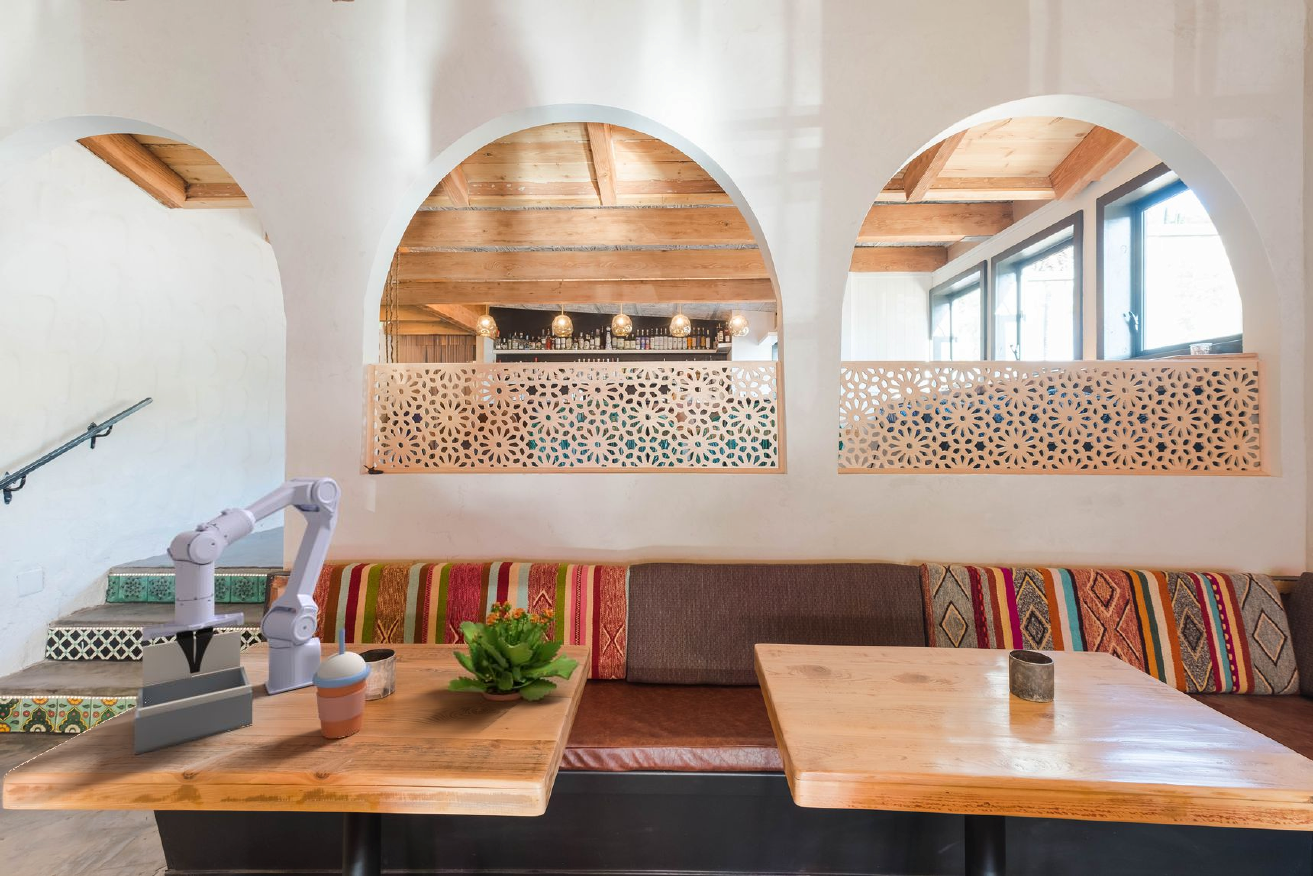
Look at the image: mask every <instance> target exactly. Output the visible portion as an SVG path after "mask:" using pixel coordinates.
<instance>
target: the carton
mask: <svg viewBox="0 0 1313 876" xmlns="http://www.w3.org/2000/svg"><path fill="white" fill-rule="evenodd" d="M246 685H250V682H249V679H248V675H247V672H246V669H245V667H244V666H240V667H235V668H230V669H225V670H220V671H215V672H210V673H205V674H200V675H195V676H190V677H185V678H180V679H175V680H170V681H165V682H160V683H155V684H150V685H145V686H141V687H138V688H137V689H138V691H137V698H136V706H135V707H136V708H135V713H134V756H136V755H140V754H144V753H148V752H153V751H157V750H160V749H164V748H168V747H172V746H176V745H180V744H183V743H187V742H191V741H195V740H194V739H196V740H199V739H204V738H207V737H206V736H208V737H211V736H210V735H212V736H215V735H214V734H216V735H219V734H223V733H227V732H229V731H228V730H231V731H234V729H235V730H238V729H237V728H239V727H242V726H247V725H250V724H252V725H253V689H251V690H250V691H249V693H248V694H244V695H239V696H235V697H230V698H226V699H222V700H217V701H213V702H208V703H204V704H199V705H195V706H190V707H186V708H182V709H177V710H173V711H168V712H164V713H159V714H155V715H150V716H146V717H142V718H140V717H139V713H138V709H140V708H144V707H149V706H154V705H158V704H163V703H167V702H172V701H177V700H181V699H186V698H190V697H195V696H200V695H204V694H209V693H213V692H218V691H223V690H227V689H232V688H236V687H241V686H246ZM145 702H146V703H145ZM247 727H248V726H247ZM239 729H240V728H239ZM226 731H227V732H226ZM218 733H219V734H218Z"/></svg>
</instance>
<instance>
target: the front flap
mask: <svg viewBox="0 0 1313 876" xmlns="http://www.w3.org/2000/svg"><path fill="white" fill-rule="evenodd" d="M249 684H250V683H249ZM253 686H254V685H253V683H252V684H250V685H246V686H241V687H236V688H232V689H227V690H223V691H218V692H213V693H209V694H204V695H200V696H195V697H190V698H186V699H181V700H177V701H172V702H167V703H163V704H158V705H154V706H149V707H144V708H140V709H138V713H139V717H140V718H142V717H146V716H150V715H155V714H159V713H164V712H168V711H173V710H177V709H182V708H186V707H190V706H195V705H199V704H204V703H208V702H213V701H217V700H222V699H226V698H230V697H235V696H239V695H244V694H248V693H249V691H250V690H252V687H253Z"/></svg>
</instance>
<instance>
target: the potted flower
mask: <svg viewBox="0 0 1313 876" xmlns="http://www.w3.org/2000/svg"><path fill="white" fill-rule="evenodd" d="M512 607H513V605H512V604H511V601H510V600H509V601H505V602H504V603H503V605H502V607H501V605H500V602H499V601H498V602H497V601H496V602H492V604H491V606H490V609H489V612H490V613H488V615H486V616H485V622H486V623H481V622H476V623H475V624H474V622H473V621H470V620H469V621H461V623H459V628H458V629H457V630H458V632H460V633H461V634H463V636H464V641H465V643H466V644H467V645H468V653H469V656H467V655H466V654H465V653H461V652H460V651H456V650H453V652H452V653H453V655H454V657H455V659H456V660H457V661H458V663H459V664H460V665H461V666H462V668H464V669H465V670H466V671H468V672H469V673H471V674H473V675H475V677H473V678H472V679H471V678H470V677H467V676H460V675H459V676H458V679H455V678H454V679H452V680H450V681H449V684H448V685H447V686H446V690H447V691H449V692H473V693H481V694H482V696H483V697H484V698H485V699H487V700H489V701H493V702H506V701H508V702H509V701H515V700H520V699H521V698H523V699H524V700H525V701H527V700H528V701H530V702H532V701H533V700H534V701H539V700H540V699H542V698H544V696H546V695H548V694H549V693H552V692H554V691H555V690H556V689H557V688H558V685H557V683H554V682H553V681H550V680H549V679H545V678H554V677H558V678H561V679H564V680H566V681H569V680H570V679H571V677H572V675H573V672H574V671H575V670H576V669H577V667H578V666H579V665H580V662H579V661H578V662H577V659H576V658H568V654H567V653H566V652H564V653H562V654H561V655H560V656H559V657H557V656H558V655H559V654H558V652H559V651H560V649H561V648H562V645H563V643H564V642H563V641H562V640H557V639H556V640H555V641H552V640H550V637H549V638H548V639H547V640H546V636H547V632H548V630H549V628H550V624H551V622H552V621H556V617H555V612H553V611H554V609H548V608H544V609H541V610H540V611H539V612H540V613H541V614H540V616H539V615H538V614H537V613H536V612H533V613H527V612H526V610H525V608H524V607H517V608H514V609H513V611H512V613H511V614H512V615H511V614H510V611H511V609H512ZM501 611H503V612H506V613H507V614H504V615H503V612H501ZM540 617H541V618H543V619H540ZM543 634H544V635H543ZM545 640H546V641H545ZM556 657H557V658H556ZM554 658H556V659H554Z"/></svg>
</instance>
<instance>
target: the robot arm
mask: <svg viewBox="0 0 1313 876" xmlns="http://www.w3.org/2000/svg"><path fill="white" fill-rule="evenodd" d="M342 493H343V492H342V491H341V489H340V487H339V485H338V483H337V481H335V480H334V479H333V478H330V477H302V476H296V477H293V478H291V479H290V480H288V481H285V482H282V483H281V485H280V486H279V487H278V488H276V489H274V490H272V491H271V492H269V493H268V494H266V495H265V496H263V497H261V498H259V499H257V501H255V502H254V503H252V504H251V505H249V506H246V507H245V508H244V509H242V508H238V507H237V508H236V507H234V508H225V509H223V510H221V511H220V513H221V514H220V515H218V516H217V517H214V518H213V519H211V520H210V521H208V522H201V523H199V524H198V525H197V527H196V529H195V530H186V531H182V532H180V533H178V534H177V535H176V536H175V537H173V540H172V541H171V542H170V545H169V547H167V548H166V554H167V556H168V557H169V558H170V559H171V560H172V562H173V564H174V572H175V573H174V600H175V601H174V621H170V622H165V623H161V624H156V625H150V626H145V627H142V638H141V639H142V642H145V641H150V640H151V639H158V638H163V637H164V638H165V637H171V636H175V639H176V640H175V641H177V642H178V644H179V645H180V647H181V648H182V650H183V652H184V654H185V656H186V658H187V661H188V664H189V668H190V674H191V673H196V672H200V666H201V662H202V658H203V656H204V653H205V651H206V648H207V646H208V644H209V642H210V641H211V639H212V637H213V635H215V633H214V629H219V628H220V629H221V628H227V627H232V626H233V627H234V626H237V627H238V626H244V613H243V612H237V613H236V612H235V613H228V614H227V613H226V614H215V564H216V563H215V561H217V559H219V557H221V554H222V553H223V550H224V549H226V548H227V547H229V546H230V545H231V546H232V544H234V543H235V542H237V541H239V540H241V539H242V538H245V537H246V536H247V535H249V534H251V533H252V532H253V531H254V529H255V528H254V527H255V523H258V522H260V521H261V520H263V519H266V518H267V517H270V516H271V515H273V514H275V513H277V512H279V511H280V510H283V509H285V508H287V507H289V506H292V507H293V508H295V509H296V510H297V511H298V512H299V513H301V515H303V517H304V518H305V519H306V522H307V524H306V528H305V531H304V533H303V536H302V540H301V542H300V545H299V547H298V550H297V555H296V556H295V560H294V563H293V565H292V569H291V571H290V575H289V577H288V580H287V583H286V587H285V588H284V591H283V593H282V594H281V595H280V596H279V597H278V598H276V599H275V600H274V601H272V602H271V606H270V608H269V610H268V611H267V612H266V614H265V615H264V616H263V617H262V619H261V622H260V626H259V627H260V633H261V635H262V636H263V637H264V638H266V640H267V641H266V643H267V644H268V680H267V679H266V680H265V681H264V685H265V688H266V691H267V693H268V695H274V694H279V693H282V692H283V693H284V692H286V691H291V690H292V691H293V690H296V689H300V688H304V687H308V686H309V687H310V686H312V685H313V686H315V685H314V684H313V682H312V678H313V675H314V674H315V672H317V671H318V669H319V667H320V665H321V664H322V648H321V641H320V638H319V636H318V637H313V636H314V634H315V633H316V630H317V628H318V621H317V620H318V619H317V618H318V616H317V615H318V611H319V606H318V605H317V603H316V602H315V601H314V599H313V596H314V593H315V590H316V588H317V587H316V586H317V584H318V581H319V578H320V575H321V572H322V569H323V566H324V562H325V559H326V556H327V553H328V550H329V547H330V544H331V541H332V538H333V535H334V532H335V529H336V526H337V523H338V522H337V521H338V519H339V517H338V516H339V513H338V511H339V509H338V507H339V503H340V500H341V496H342ZM194 632H195V633H194ZM194 634H195V635H194ZM194 638H196V655H195V663H194Z"/></svg>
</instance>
